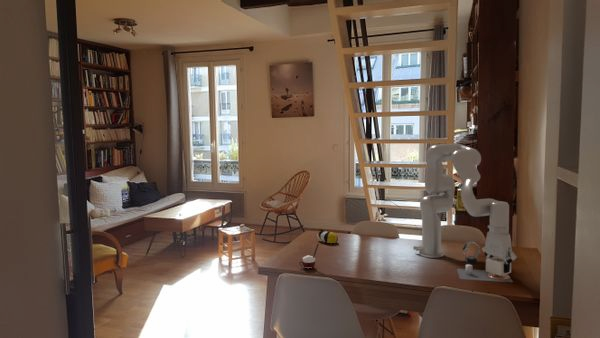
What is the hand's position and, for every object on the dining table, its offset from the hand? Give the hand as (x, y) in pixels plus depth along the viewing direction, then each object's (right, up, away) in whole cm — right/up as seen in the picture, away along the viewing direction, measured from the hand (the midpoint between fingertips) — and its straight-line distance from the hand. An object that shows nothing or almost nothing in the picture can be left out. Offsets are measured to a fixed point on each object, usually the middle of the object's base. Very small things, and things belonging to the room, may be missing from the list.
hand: (498, 269), depth 184 cm
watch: (-3, -3, +22) cm, 22 cm away
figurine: (-70, -1, +70) cm, 99 cm away
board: (-6, -4, +2) cm, 7 cm away
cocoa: (-82, -5, +22) cm, 85 cm away
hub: (0, -3, 0) cm, 3 cm away
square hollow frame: (0, -1, 0) cm, 1 cm away
